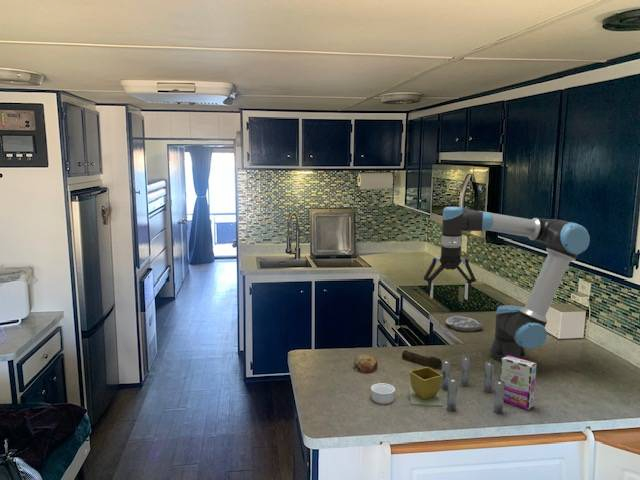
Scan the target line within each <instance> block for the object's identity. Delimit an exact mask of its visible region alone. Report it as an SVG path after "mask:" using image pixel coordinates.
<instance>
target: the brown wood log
mask: <svg viewBox="0 0 640 480" xmlns="http://www.w3.org/2000/svg"><path fill="white" fill-rule="evenodd" d="M401 358H402V360H406V361H407V360H408V361H411V362H415V363H418V364H422V365H426V366H427V367H429V368H431V369H433V370H441V371H442V359H440V358H439V357H435V356H429V357H428V356H425V355H422V354H418V353H415V352H412V351H408V350H406V349H405V350H403V351H402V353H401Z"/></svg>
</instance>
